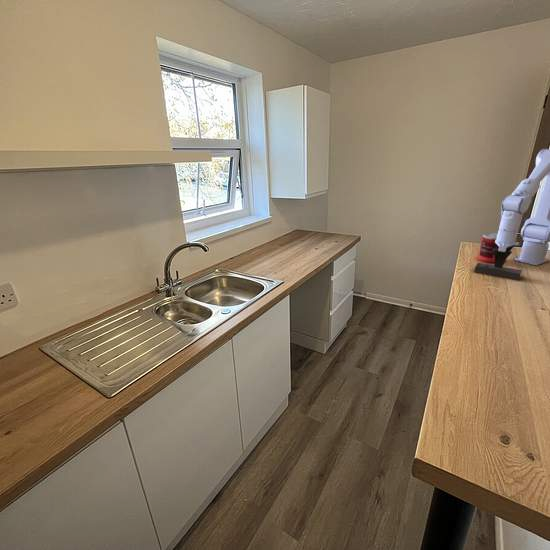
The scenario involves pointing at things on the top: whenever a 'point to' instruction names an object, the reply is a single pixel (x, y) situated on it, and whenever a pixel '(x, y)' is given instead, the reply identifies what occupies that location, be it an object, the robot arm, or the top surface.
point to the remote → (498, 271)
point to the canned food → (487, 248)
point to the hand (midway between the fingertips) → (499, 264)
